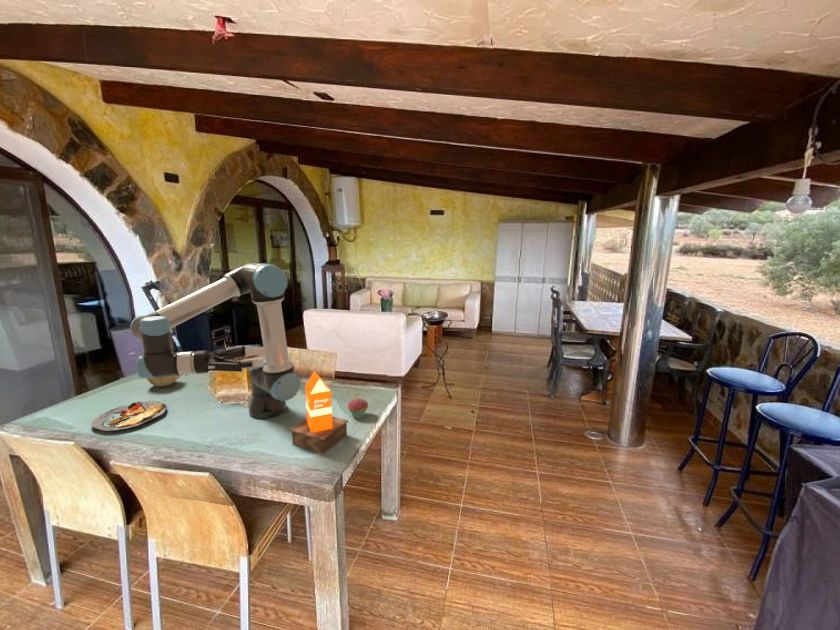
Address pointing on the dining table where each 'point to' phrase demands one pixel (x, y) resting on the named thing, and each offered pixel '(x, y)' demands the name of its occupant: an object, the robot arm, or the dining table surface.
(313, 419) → the orange juice
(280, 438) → the dining table surface
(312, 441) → the walnut riser
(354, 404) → the cupcake
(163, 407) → the food plate
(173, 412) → the dining table surface
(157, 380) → the cantaloupe
